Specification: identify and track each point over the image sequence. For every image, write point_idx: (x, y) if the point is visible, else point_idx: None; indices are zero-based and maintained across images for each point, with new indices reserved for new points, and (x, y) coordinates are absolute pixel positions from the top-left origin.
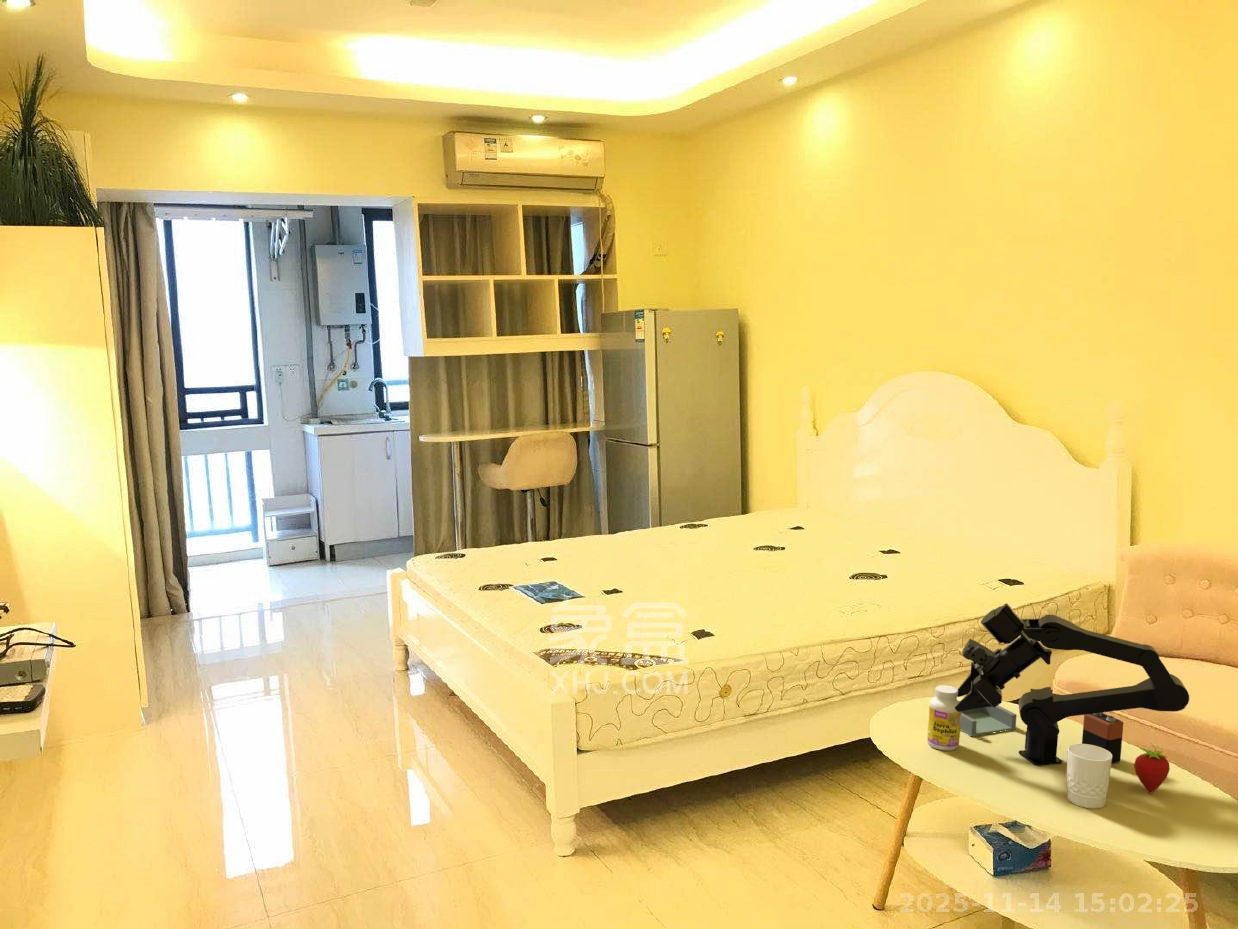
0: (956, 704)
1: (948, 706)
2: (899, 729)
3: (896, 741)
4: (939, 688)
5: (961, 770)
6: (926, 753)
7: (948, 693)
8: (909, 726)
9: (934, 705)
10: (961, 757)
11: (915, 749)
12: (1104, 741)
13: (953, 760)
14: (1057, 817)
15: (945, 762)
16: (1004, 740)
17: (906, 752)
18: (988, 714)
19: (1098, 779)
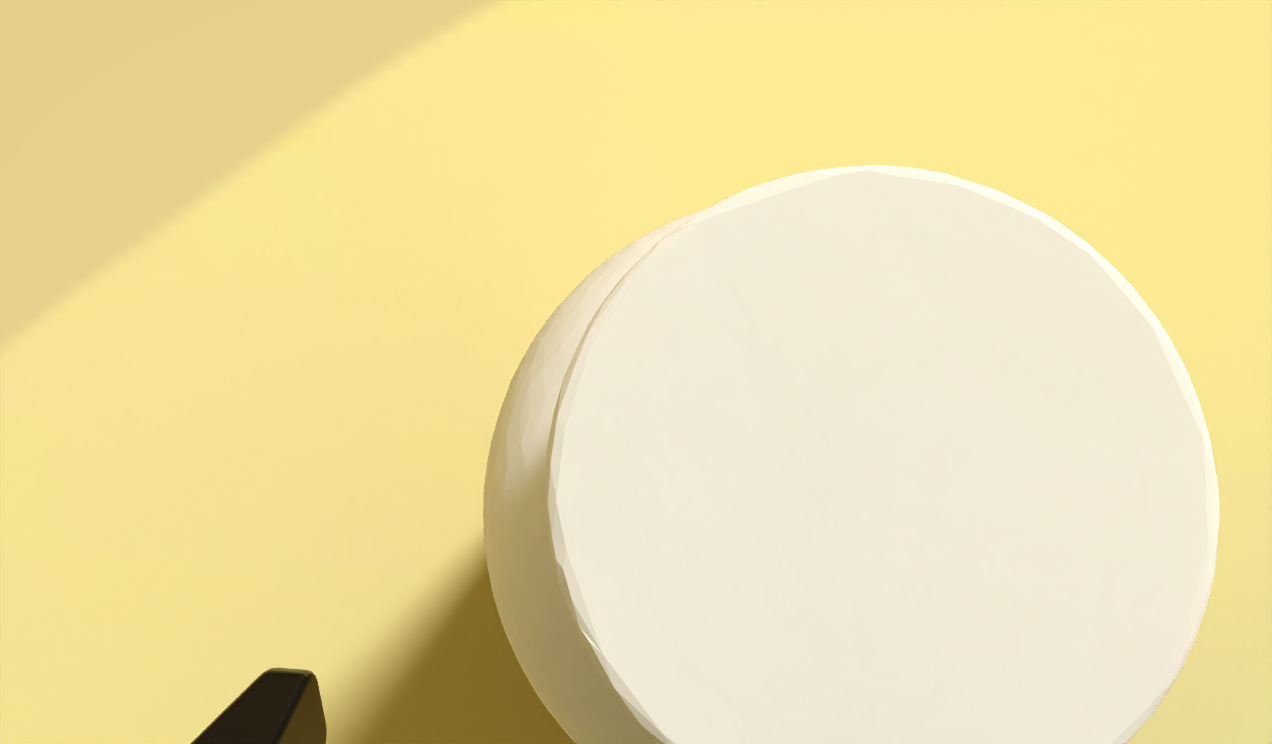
0: (636, 730)
1: (510, 538)
2: (1040, 84)
3: (695, 51)
4: (871, 267)
5: (84, 686)
6: (457, 338)
7: (545, 515)
8: (1168, 187)
9: (608, 264)
10: (442, 713)
11: (535, 231)
12: None
13: (337, 617)
14: None
15: (263, 526)
16: None
17: (432, 141)
18: None
19: None
